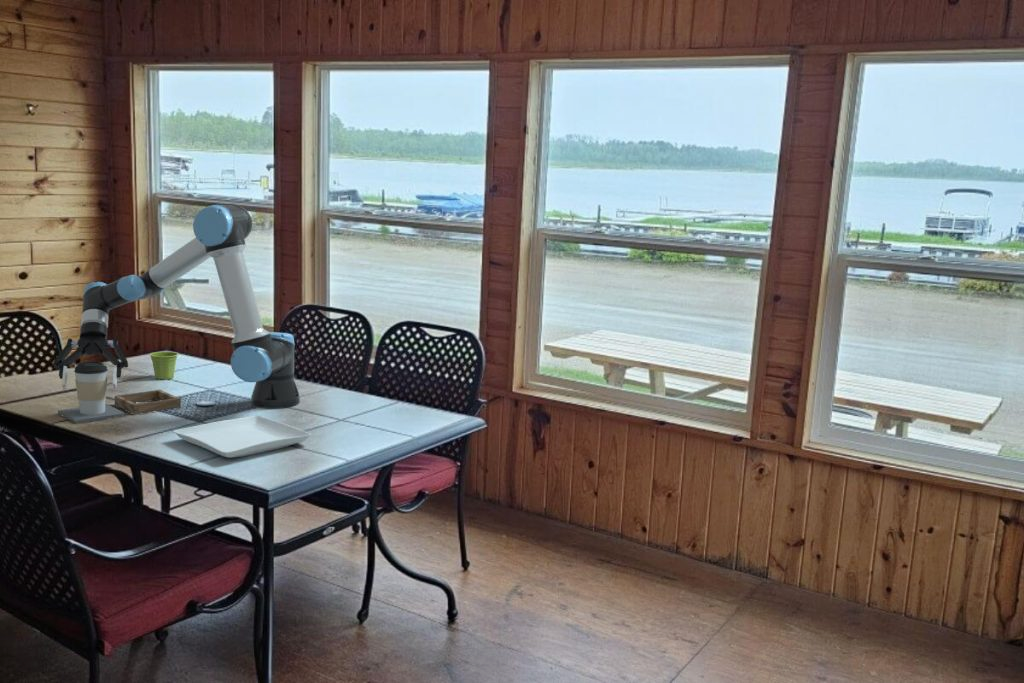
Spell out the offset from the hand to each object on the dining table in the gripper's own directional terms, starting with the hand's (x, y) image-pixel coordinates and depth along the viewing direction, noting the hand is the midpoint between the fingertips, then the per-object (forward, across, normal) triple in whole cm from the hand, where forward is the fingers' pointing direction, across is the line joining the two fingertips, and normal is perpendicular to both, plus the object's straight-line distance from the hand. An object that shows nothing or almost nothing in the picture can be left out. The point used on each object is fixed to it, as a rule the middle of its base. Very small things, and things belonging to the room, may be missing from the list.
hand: (89, 386), depth 267 cm
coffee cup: (+4, 0, -8) cm, 9 cm away
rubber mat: (+5, 0, -8) cm, 9 cm away
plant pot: (-29, -18, -42) cm, 54 cm away
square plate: (+30, -42, +16) cm, 55 cm away
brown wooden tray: (-1, -15, -14) cm, 20 cm away
